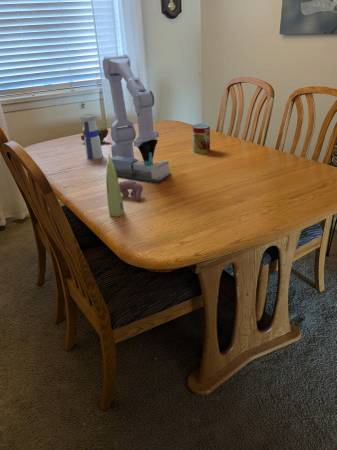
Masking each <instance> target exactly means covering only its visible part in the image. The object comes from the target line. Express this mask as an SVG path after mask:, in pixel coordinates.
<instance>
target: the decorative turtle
mask: <svg viewBox="0 0 337 450" xmlns="http://www.w3.org/2000/svg"><path fill="white" fill-rule="evenodd" d="M97 130H98V135H99V138H100V143H101V144H102V143H103V142H104V140H105V138H107V136H108V135H109V130H108V129H107V127H103V128H101V129H100V128H98V129H97ZM84 138H85V136H84V135H83V134H82V135H80V139H81V140H82V141H84V142H85V140H84ZM102 141H103V142H102Z"/></svg>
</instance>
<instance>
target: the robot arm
mask: <svg viewBox="0 0 337 450" xmlns="http://www.w3.org/2000/svg"><path fill="white" fill-rule="evenodd" d="M102 70H103V75H104V78H105V79H107V80H108V82H109V87H110V92H111V93H110V94H111V99H112V105H113V110H114V117H115V121H113V123H112V124H111V125H110V137H111V140H112V144H111V149H110V150H111V158H112V157H114V156H122V157H129V158H135V152H134V147H137V149H138V150H139V151H140V154H141V157H142V160H143V162H144V161H149V151H150V152H152V157H153V158H154V156H155V150H156V146H157V144H158V143H159V141H158V139H157V138H159V137H160V136H159V135H160V134H159V131H155V130H154V121H153V120H154V118H153V107H154V105H155V96H154V93H153V91H152V90H151V89H148V88H147V89H146V87H145V85H144V84H143V82H142V81H141V80H140V78H139V77H136V76H135V75H134V73H133V71H132V69H131V60H130V57H129V55H128V54H121V55H110V56H104V57H103V59H102ZM122 80H124V81H125V82H126V89H127V91H128V92H129V94H130V96H131V97H132V102H133V103H132V104H133V106H134V112H135V113H136V116H137V129H138V130H137V131H138V137H137V131H136V129H135V125H134V122H133V121H131V120H129V119H128V116H127V110H126V104H125V97H124V92H123V91H124V90H123V86H122V85H123V84H122ZM136 137H137V138H136ZM136 159H137V161H139V158H136Z"/></svg>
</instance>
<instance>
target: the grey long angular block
mask: <svg viewBox="0 0 337 450" xmlns="http://www.w3.org/2000/svg"><path fill="white" fill-rule="evenodd" d="M111 159H112V162H113V165H114V168H115V171H116V174H117V178H122V179H127V180H131V181H140V182H143V183H149V184H155V185H160V184H161V183H163V182H164V181H165V180H167V179H169V178H170V177H171V176H172V172H169V175H168V176H166V177H165V178H163V179H162V180H156V179H152V175H151V172H145V171H139V170H133V169H132V164H131V163H132V162H134V161H137V162H138V160H137V159H138V158H135V157H134V158H129V157H122V156H114V157H112V156H111Z"/></svg>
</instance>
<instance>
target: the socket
mask: <svg viewBox="0 0 337 450" xmlns="http://www.w3.org/2000/svg"><path fill="white" fill-rule="evenodd" d="M169 173H170V167H169V161H167V160H158V161H155V162H153V165H151V175H152V179H156V180H162V179H163V178H165V177H166V176H168V175H169Z"/></svg>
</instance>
